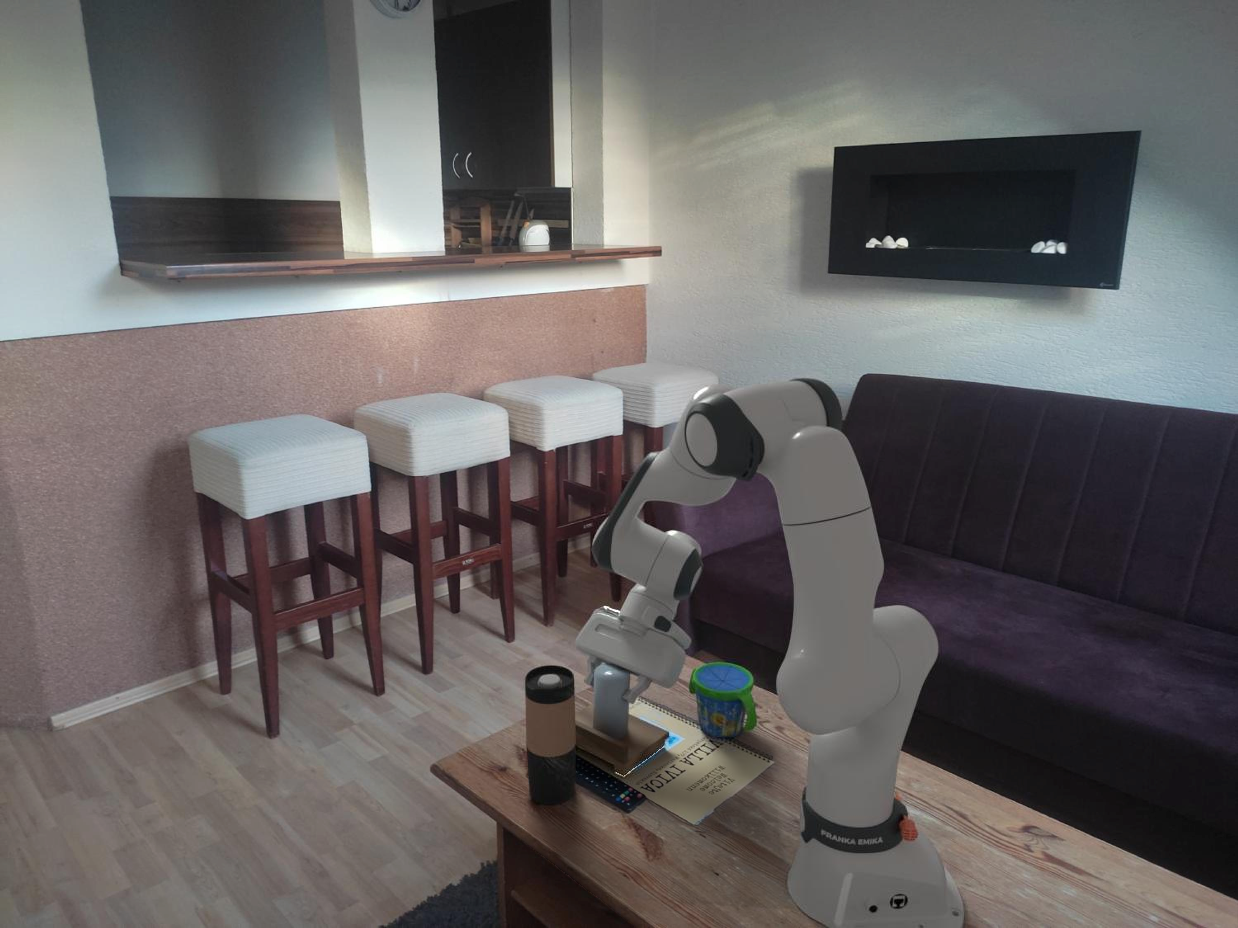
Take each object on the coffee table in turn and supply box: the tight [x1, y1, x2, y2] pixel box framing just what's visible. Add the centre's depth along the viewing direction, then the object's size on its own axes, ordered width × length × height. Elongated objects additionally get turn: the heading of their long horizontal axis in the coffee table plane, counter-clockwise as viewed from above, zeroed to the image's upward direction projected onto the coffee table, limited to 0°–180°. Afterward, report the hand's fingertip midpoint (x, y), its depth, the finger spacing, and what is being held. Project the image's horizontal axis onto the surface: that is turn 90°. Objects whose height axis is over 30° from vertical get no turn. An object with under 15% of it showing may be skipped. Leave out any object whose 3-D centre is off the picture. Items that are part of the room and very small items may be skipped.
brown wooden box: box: [575, 702, 670, 776], centre depth 152 cm, size 12×16×6 cm
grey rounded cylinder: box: [592, 663, 631, 740], centre depth 150 cm, size 6×6×11 cm
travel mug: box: [524, 664, 577, 806], centre depth 138 cm, size 8×8×20 cm
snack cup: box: [688, 662, 758, 739], centre depth 156 cm, size 16×10×10 cm
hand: (607, 693), depth 149 cm, fingers open, 7 cm apart
